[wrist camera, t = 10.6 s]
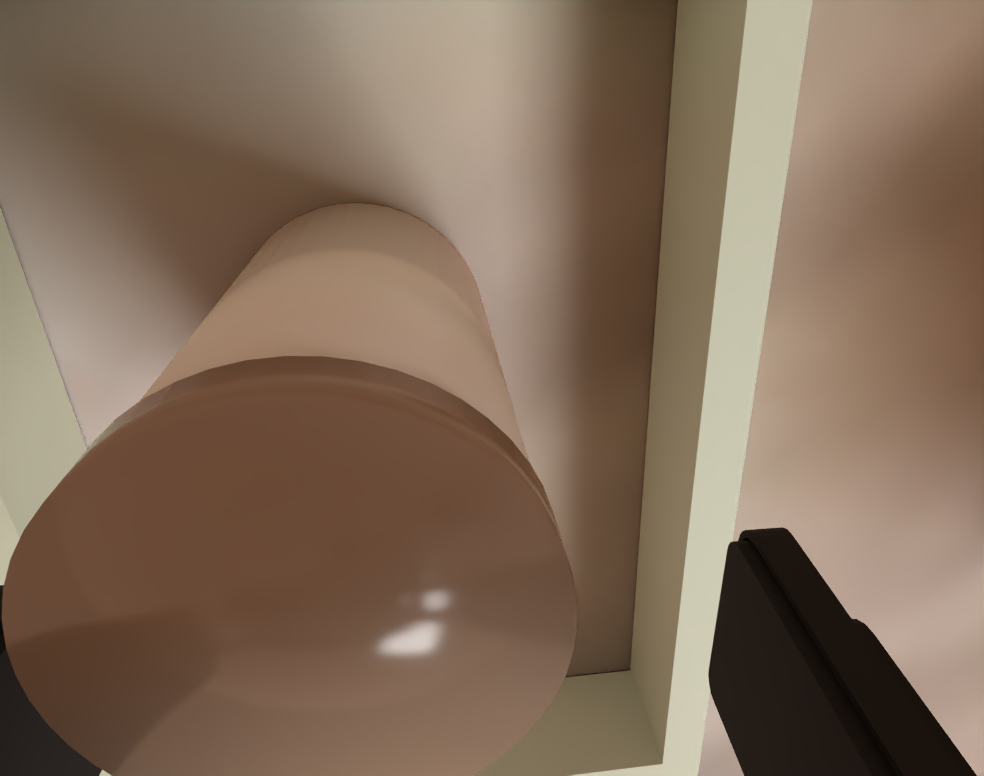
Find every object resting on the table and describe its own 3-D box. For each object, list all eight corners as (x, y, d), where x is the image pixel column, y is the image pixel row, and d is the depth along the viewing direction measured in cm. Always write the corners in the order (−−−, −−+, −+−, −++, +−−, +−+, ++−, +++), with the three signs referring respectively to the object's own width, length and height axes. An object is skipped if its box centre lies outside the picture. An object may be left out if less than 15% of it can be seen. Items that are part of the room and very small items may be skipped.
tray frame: (741, -104, 12) (834, -150, 9) (660, 689, 21) (696, 783, 18) (-169, -77, 11) (-362, -121, 8) (157, 747, 20) (116, 856, 17)
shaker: (486, 194, 14) (592, 386, 6) (489, 426, 16) (566, 793, 8) (211, 201, 13) (-96, 424, 5) (256, 440, 16) (92, 846, 8)
